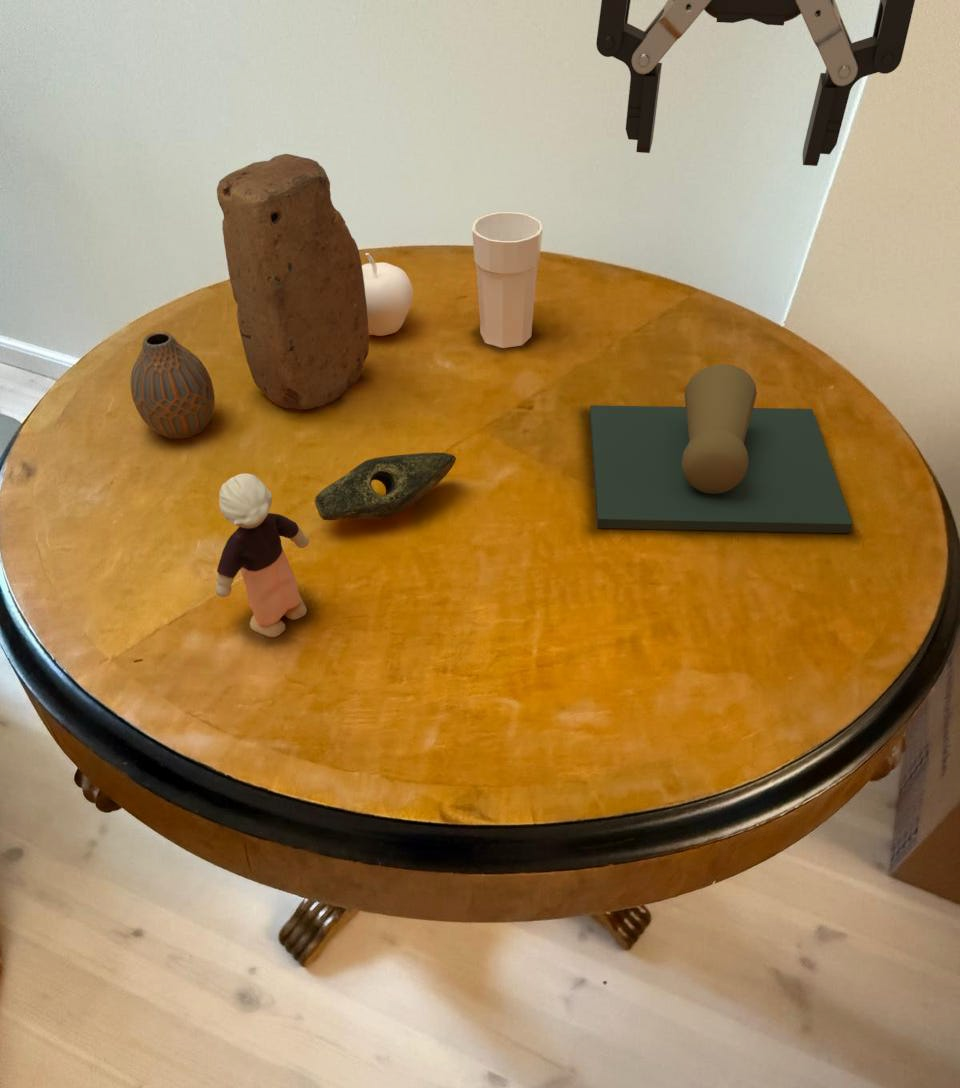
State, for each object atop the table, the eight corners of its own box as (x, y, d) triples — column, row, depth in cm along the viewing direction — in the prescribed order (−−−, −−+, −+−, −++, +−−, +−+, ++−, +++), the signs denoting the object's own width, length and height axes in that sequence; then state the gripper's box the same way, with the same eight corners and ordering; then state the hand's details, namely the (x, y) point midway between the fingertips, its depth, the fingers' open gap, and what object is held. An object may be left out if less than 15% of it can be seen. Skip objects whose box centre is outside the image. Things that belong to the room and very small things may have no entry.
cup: (460, 331, 95) (457, 224, 87) (511, 312, 98) (513, 205, 90) (499, 358, 92) (500, 249, 84) (551, 337, 94) (557, 229, 86)
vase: (210, 397, 88) (187, 310, 81) (230, 436, 83) (208, 347, 77) (136, 416, 85) (107, 329, 79) (154, 457, 81) (124, 368, 75)
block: (290, 425, 84) (248, 199, 70) (245, 391, 88) (196, 171, 73) (384, 380, 89) (363, 161, 75) (337, 350, 93) (309, 136, 78)
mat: (809, 417, 84) (812, 408, 84) (849, 533, 74) (853, 523, 73) (589, 414, 85) (590, 404, 84) (597, 528, 74) (598, 518, 74)
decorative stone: (391, 563, 72) (386, 513, 68) (311, 532, 74) (302, 482, 71) (462, 485, 78) (460, 435, 75) (386, 459, 81) (381, 409, 77)
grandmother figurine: (285, 579, 71) (254, 440, 61) (326, 596, 69) (301, 457, 60) (219, 644, 66) (174, 505, 57) (261, 664, 65) (222, 525, 55)
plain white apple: (335, 321, 97) (325, 245, 91) (397, 305, 99) (391, 230, 93) (362, 352, 93) (353, 275, 87) (426, 334, 95) (421, 258, 89)
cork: (685, 424, 83) (675, 505, 76) (684, 365, 79) (673, 445, 72) (755, 423, 81) (752, 505, 74) (758, 362, 77) (755, 444, 70)
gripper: (612, -275, 35) (581, 171, 47) (1009, -273, 33) (871, 194, 45) (632, -287, 40) (600, 120, 52) (979, -286, 38) (862, 138, 50)
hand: (726, 154), depth 49 cm, fingers open, 8 cm apart
